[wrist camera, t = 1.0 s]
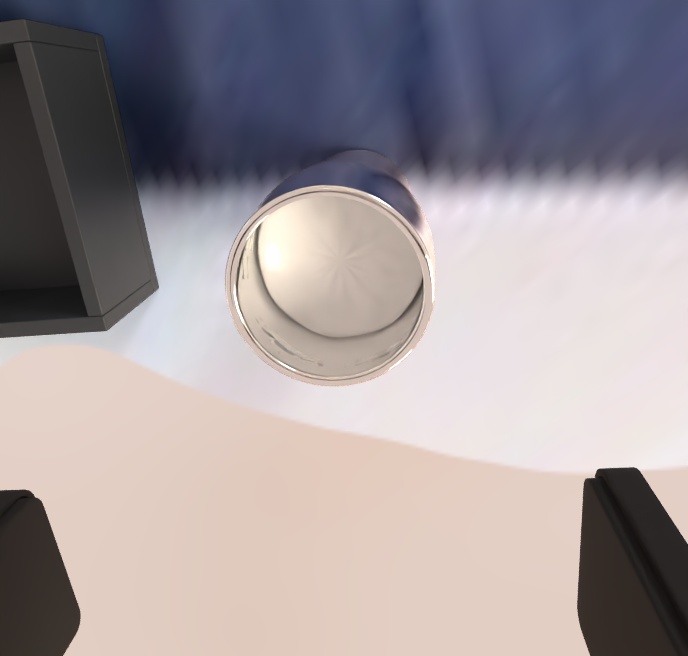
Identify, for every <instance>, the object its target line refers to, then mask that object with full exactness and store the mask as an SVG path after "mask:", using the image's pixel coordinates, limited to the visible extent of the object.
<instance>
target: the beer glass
mask: <svg viewBox="0 0 688 656" xmlns="http://www.w3.org/2000/svg"><path fill="white" fill-rule="evenodd" d="M225 289H226V298H227V303H228V307H229V311H230V314H231V316H232V319H233V321H234V324H235V326H236V328H237V330H238V331H239V333H240V335H241V336H242V338H243V339H244V341H245V342H246V343H247V345H248V346H249V347H250V348H251V349H252V351H253V352H254V353H255V354H256V355H257V356H258V357H259V358H261V359H262V360H263V361H264V362H265V363H267V364H268V365H269V366H271V367H272V368H274V369H275V370H277V371H279V372H281V373H282V374H284V375H286V376H289V377H291V378H293V379H296V380H299V381H302V382H306V383H310V384H315V385H321V386H346V385H353V384H358V383H362V382H365V381H368V380H371V379H374V378H376V377H378V376H380V375H382V374H384V373H386V372H388V371H389V370H391V369H393V368H394V367H395V366H397V365H398V364H399V363H400V362H402V361H403V360H404V359H405V358H406V357H407V356H408V355H409V354H410V353H411V352H412V351H413V349H414V348H415V347H416V345H417V344H418V343H419V341H420V340H421V338H422V336H423V334H424V333H425V331H426V328H427V326H428V324H429V321H430V318H431V315H432V311H433V306H434V299H435V253H434V244H433V238H432V234H431V230H430V227H429V224H428V221H427V219H426V217H425V214H424V212H423V210H422V208H421V206H420V204H419V202H418V201H417V199H416V198H415V196H414V195H413V194H412V190H411V187H410V185H409V182H408V180H407V178H406V176H405V175H404V173H403V172H402V171H401V169H400V168H399V167H398V166H397V165H396V164H395V163H394V162H392V161H391V160H390V159H388V158H387V157H385V156H383V155H381V154H379V153H376V152H373V151H369V150H361V149H354V150H347V151H343V152H340V153H337V154H335V155H332V156H331V157H329V158H327V159H326V160H325V161H323V162H321V163H317V164H314V165H311V166H309V167H306V168H304V169H302V170H300V171H299V172H297V173H295V174H293V175H291V176H290V177H288V178H287V179H285V180H284V181H283V182H281V183H280V184H279V185H278V186H277V187H276V188H275V189H274V190H273V191H272V192H271V193H270V194H269V195H268V196H267V197H266V198H265V199H264V200H263V201H262V202H261V204H260V205H259V206H258V208H257V209H256V211H255V212H254V213H253V215H252V216H251V217H250V218H249V219H248V221H247V222H246V223H245V224H244V226H243V227H242V229H241V230H240V232H239V233H238V235H237V237H236V239H235V241H234V243H233V245H232V248H231V251H230V254H229V257H228V261H227V267H226V276H225Z"/></svg>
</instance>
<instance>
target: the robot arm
mask: <svg viewBox="0 0 688 656" xmlns="http://www.w3.org/2000/svg"><path fill="white" fill-rule="evenodd" d="M583 490H584V491H583V509H582V527H581V545H580V563H579V582H578V601H577V609H578V617H579V623H580V627H581V630H582V633H583V636H584V639H585V642H586V645H587V648H588V651H589V653H590V656H688V544H687V542H686V541H685V539H684V538H683V536H682V535H681V534H680V532H679V530H678V529H677V527H676V526H675V524H674V523H673V521H672V520H671V518H670V517H669V515H668V513H667V512H666V511H665V509H664V507H663V506H662V504H661V503H660V501H659V500H658V498H657V497H656V495H655V494H654V492H653V491H652V489H651V488H650V486H649V484H648V483H647V482H646V480H645V478H644V477H643V475H642V474H641V472H640V471H639V470H638V469H637V468H634V467H632V468H605V469H598V470H597V472H596V474H595V478H587V479H586V480H585V482H584V489H583ZM79 624H80V609H79V606H78V603H77V600H76V598H75V595H74V592H73V589H72V586H71V583H70V580H69V577H68V574H67V572H66V569H65V566H64V563H63V560H62V557H61V555H60V552H59V549H58V546H57V543H56V540H55V537H54V534H53V531H52V529H51V526H50V523H49V520H48V517H47V514H46V511H45V509H44V506H43V503H42V502H41V500H39V499H38V498H35V496H34V494H32V493H31V492H30V491H28V490H4V491H3V490H2V491H0V656H63V655H64V653H65V652H66V649H67V648H68V647H69V645H70V643H71V641H72V640H73V638H74V636H75V635H76V633H77V631H78V628H79Z"/></svg>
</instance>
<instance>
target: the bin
mask: <svg viewBox="0 0 688 656" xmlns="http://www.w3.org/2000/svg"><path fill="white" fill-rule="evenodd" d="M157 289H159V286H158V282H157V277H156V273H155V269H154V264H153V260H152V255H151V251H150V246H149V242H148V237H147V233H146V228H145V224H144V220H143V215H142V211H141V206H140V202H139V197H138V193H137V188H136V184H135V179H134V175H133V171H132V166H131V162H130V157H129V153H128V148H127V144H126V139H125V135H124V131H123V126H122V122H121V117H120V113H119V108H118V104H117V99H116V95H115V90H114V86H113V82H112V77H111V73H110V68H109V64H108V59H107V55H106V50H105V46H104V41H103V37H102V35H99V34H94V33H90V32H85V31H80V30H75V29H70V28H65V27H60V26H56V25H51V24H46V23H41V22H36V21H31V20H26V19H20V20H12V21H4V22H0V338H5V337H21V336H36V335H51V334H67V333H82V332H98V331H107V330H109V329H110V328H111V327H112V326H113V325H115V324H116V323H117V322H118V321H120V320H121V319H122V318H123V317H124V316H126V315H127V314H128V313H129V312H131V311H132V310H133V309H134V308H135V307H137V306H138V305H139V304H140V303H142V302H143V301H144V300H145V299H147V298H148V297H149V296H150V295H151V294H153V293H154V292H155V291H156V290H157Z"/></svg>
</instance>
